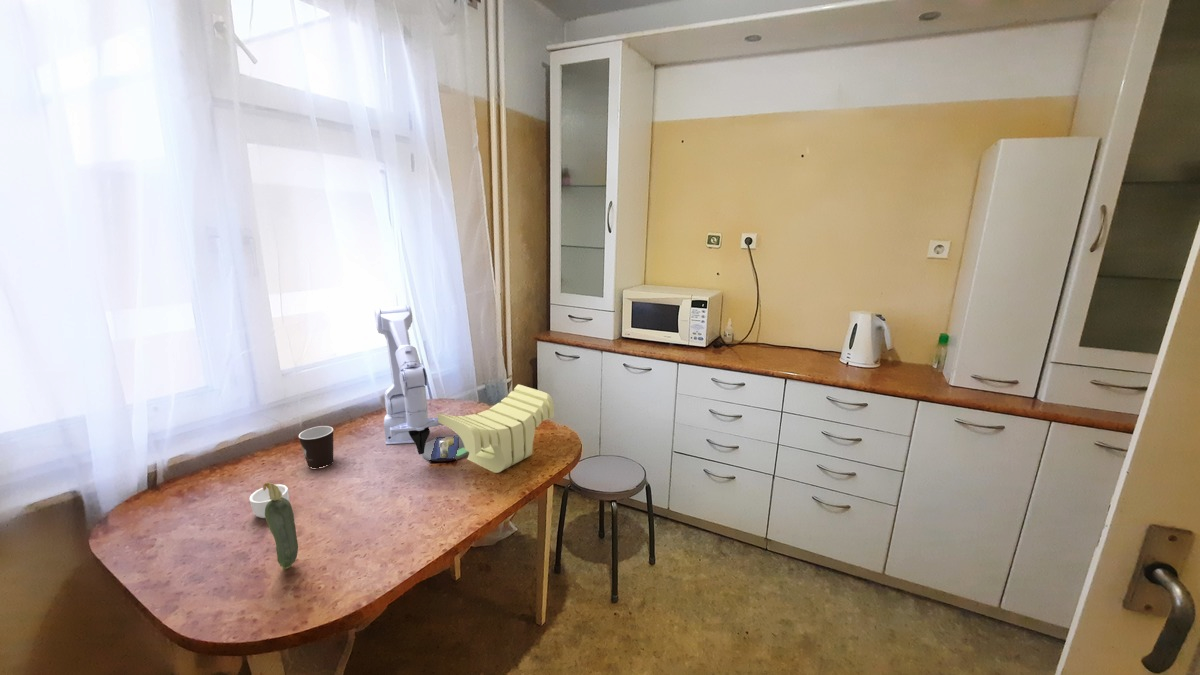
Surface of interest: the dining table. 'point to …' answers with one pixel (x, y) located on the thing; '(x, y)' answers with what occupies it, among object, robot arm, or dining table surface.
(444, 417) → the slatted curved stool
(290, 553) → the vegetable
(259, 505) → the teacup
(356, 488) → the dining table surface
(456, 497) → the dining table surface
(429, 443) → the dial plate
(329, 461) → the coffee mug
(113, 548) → the dining table surface
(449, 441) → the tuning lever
